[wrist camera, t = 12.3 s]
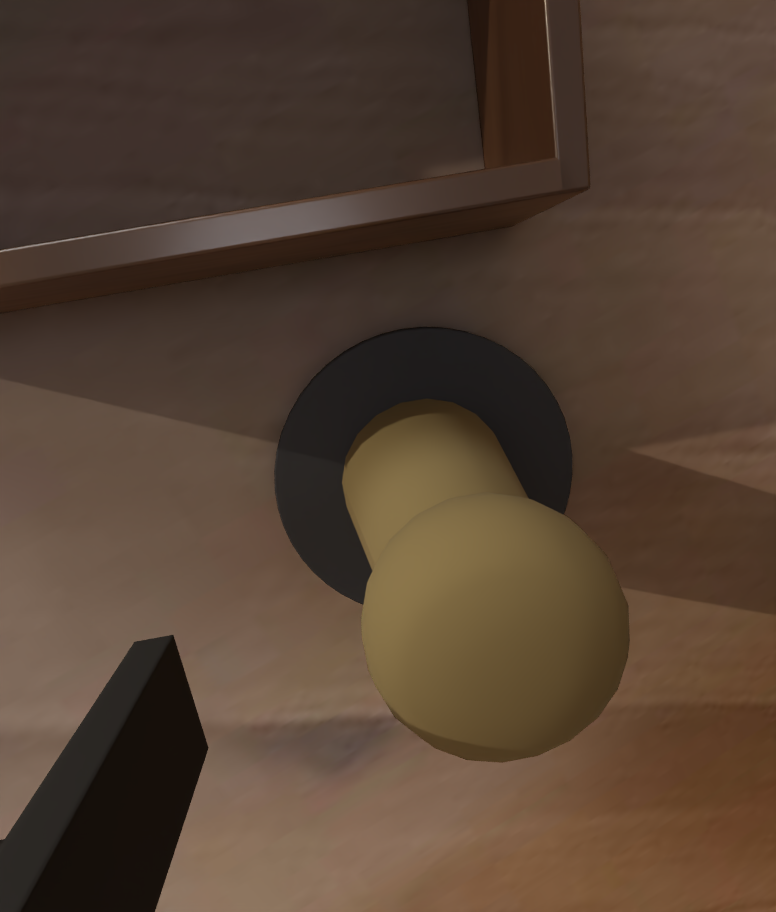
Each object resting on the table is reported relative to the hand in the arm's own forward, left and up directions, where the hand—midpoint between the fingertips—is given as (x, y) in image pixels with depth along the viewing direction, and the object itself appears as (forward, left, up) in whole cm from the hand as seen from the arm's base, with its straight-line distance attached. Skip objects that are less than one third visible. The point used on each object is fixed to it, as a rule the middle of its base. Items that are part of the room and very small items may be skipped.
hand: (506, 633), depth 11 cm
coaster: (0, 0, -10) cm, 10 cm away
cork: (0, 0, -9) cm, 9 cm away
